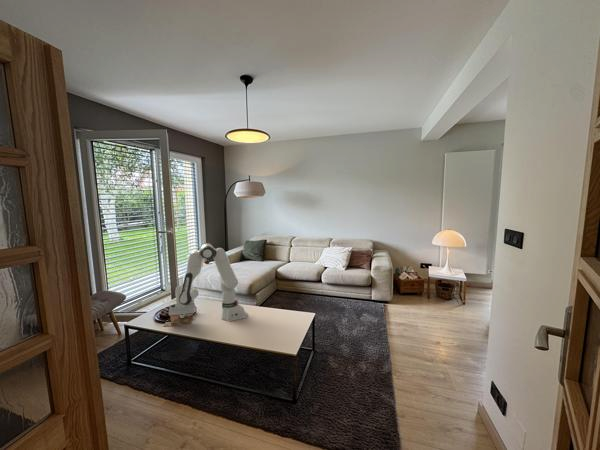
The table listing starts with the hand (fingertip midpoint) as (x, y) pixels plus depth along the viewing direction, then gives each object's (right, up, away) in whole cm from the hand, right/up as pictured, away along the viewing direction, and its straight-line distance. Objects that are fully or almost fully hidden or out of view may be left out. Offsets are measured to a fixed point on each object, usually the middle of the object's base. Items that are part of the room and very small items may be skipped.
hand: (182, 319), depth 212 cm
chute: (-3, -3, -1) cm, 4 cm away
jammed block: (-5, -3, -1) cm, 6 cm away
